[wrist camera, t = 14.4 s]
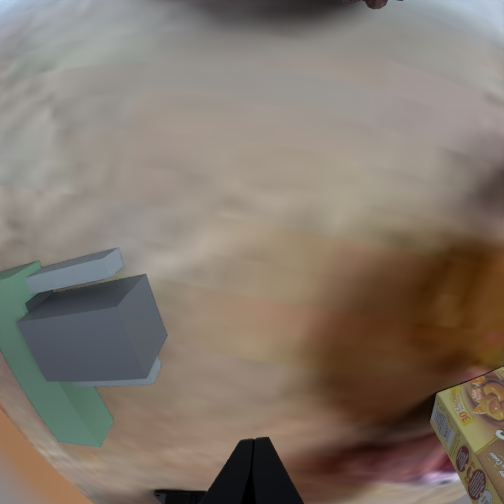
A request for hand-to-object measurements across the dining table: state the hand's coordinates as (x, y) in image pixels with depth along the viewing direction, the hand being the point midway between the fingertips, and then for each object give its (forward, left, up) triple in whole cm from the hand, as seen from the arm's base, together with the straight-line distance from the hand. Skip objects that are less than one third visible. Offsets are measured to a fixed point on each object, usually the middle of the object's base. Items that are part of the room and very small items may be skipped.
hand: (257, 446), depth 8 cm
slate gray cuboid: (0, +11, -12) cm, 16 cm away
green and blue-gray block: (-3, +14, -12) cm, 19 cm away
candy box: (-15, -17, -12) cm, 26 cm away
